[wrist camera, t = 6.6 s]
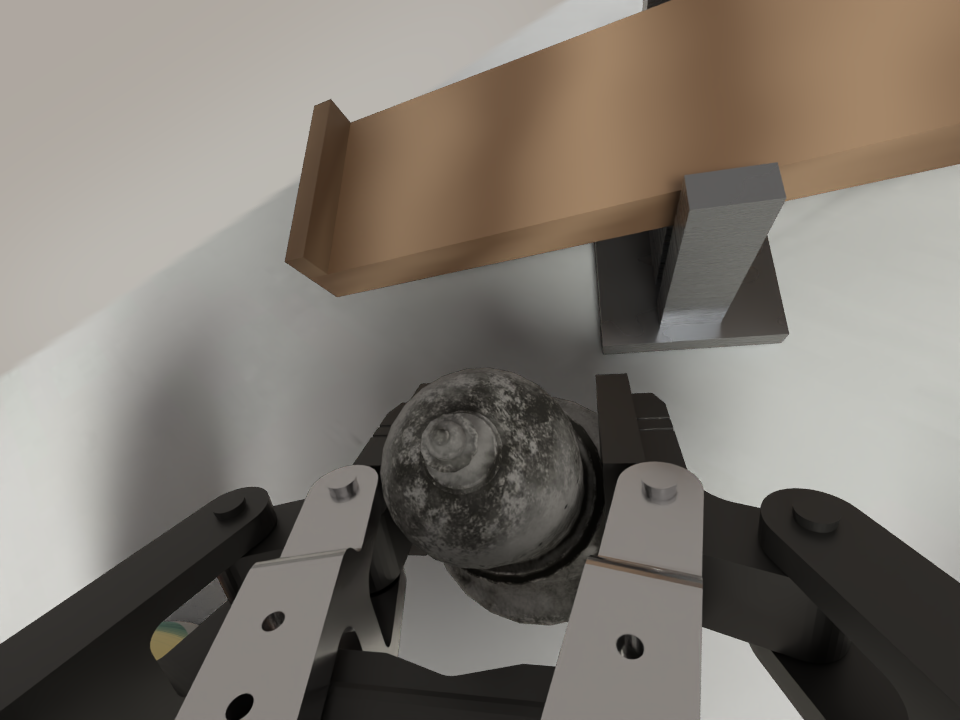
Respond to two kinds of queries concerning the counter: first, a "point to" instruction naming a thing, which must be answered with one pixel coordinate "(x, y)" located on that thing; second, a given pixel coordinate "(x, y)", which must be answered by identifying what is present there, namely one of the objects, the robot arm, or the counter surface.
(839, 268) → the counter surface
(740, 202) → the pivot stand
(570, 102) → the beam
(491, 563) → the dark grey turned piece
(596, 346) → the counter surface
